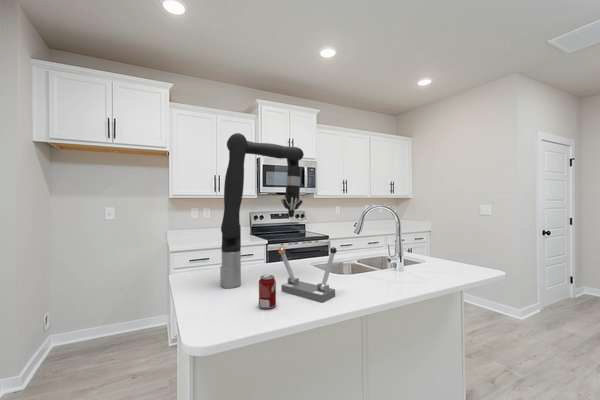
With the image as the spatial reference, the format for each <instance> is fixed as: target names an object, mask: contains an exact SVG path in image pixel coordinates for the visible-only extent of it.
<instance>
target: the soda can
mask: <svg viewBox="0 0 600 400" xmlns="http://www.w3.org/2000/svg"><path fill="white" fill-rule="evenodd" d="M276 283H277V281H276V279H275V276H274V275H273V274H264V275H261V276H260V278H259V280H258V306H259V308H261V309H265V310H270V309H273V308H274V307H276V306H277V284H276Z"/></svg>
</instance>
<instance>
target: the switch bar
mask: <svg viewBox="0 0 600 400" xmlns="http://www.w3.org/2000/svg"><path fill="white" fill-rule="evenodd" d="M295 278H296V277H295ZM320 284H322V282H318V283H316V284H313V283H309V282H305V281H301V280H300V278H299V277H297V278H296V279H294V283H291V282H290V277H289V276H288V277H287V282H286V283H283V284H281V292H282V293H286V294H289V295H292V296H297V297H300V298H304V299H308V300H311V301H314V302H318V303H322V304H323V303H325V302H326V301H329V300H332V299H333V298H334V297H336V289H335V288H331V287H330V284H326V286H324V288H325V291H323V290H320V289H319V286H320Z"/></svg>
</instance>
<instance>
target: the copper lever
mask: <svg viewBox="0 0 600 400" xmlns="http://www.w3.org/2000/svg"><path fill="white" fill-rule="evenodd" d="M277 251H278V254H280V256H281V259H282V262H283V264H284V266H285V268H286V271H287V273H288V277H290V282H291V283H294V279H296V277H295V275H294V273H293V270H292V267H291V265H290V262H289V260H288V258H287V255H286V250H285V248H284V247H279V248H278V250H277Z"/></svg>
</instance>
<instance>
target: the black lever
mask: <svg viewBox="0 0 600 400" xmlns="http://www.w3.org/2000/svg"><path fill="white" fill-rule="evenodd" d="M337 251H338V250H337V248H336V247H333V246H332V247H331V248H329V252H330V253H329V257H328V260H327V264H326V267H325V271H324V273H323V274H324V275H323V278H322V280H321V283H322V284H320V286H319V289H320V290H323V291H325V288H324V286H326V285H327V282H328V279H329V276H330V273H331V269H332V265H333V262H334V257H335V255H336V253H337Z"/></svg>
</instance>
